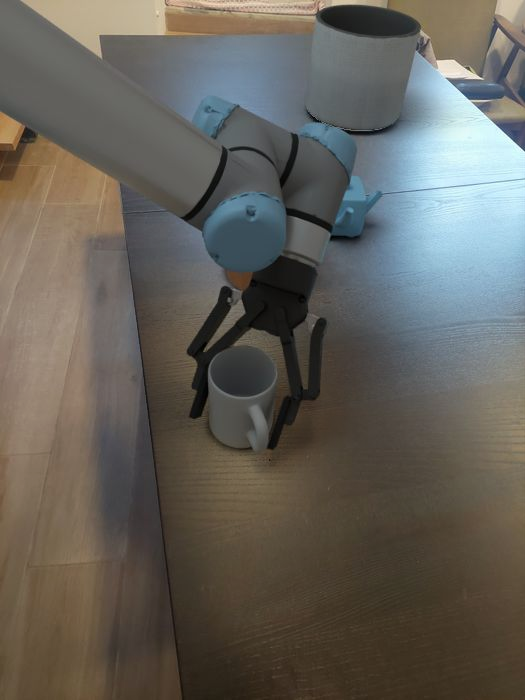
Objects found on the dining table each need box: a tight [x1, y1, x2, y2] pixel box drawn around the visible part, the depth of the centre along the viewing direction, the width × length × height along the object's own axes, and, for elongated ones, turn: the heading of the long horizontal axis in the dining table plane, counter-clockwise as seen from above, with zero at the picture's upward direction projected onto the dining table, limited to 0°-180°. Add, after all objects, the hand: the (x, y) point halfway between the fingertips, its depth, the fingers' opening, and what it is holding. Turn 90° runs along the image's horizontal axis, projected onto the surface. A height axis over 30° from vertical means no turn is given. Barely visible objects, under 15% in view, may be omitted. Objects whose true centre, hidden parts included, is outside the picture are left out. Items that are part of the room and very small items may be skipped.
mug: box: [208, 344, 279, 454], centre depth 64 cm, size 12×8×11 cm
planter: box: [304, 4, 422, 133], centre depth 128 cm, size 25×25×22 cm
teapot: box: [331, 175, 384, 238], centre depth 97 cm, size 18×14×10 cm
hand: (232, 431), depth 63 cm, fingers closed on mug, 10 cm apart
